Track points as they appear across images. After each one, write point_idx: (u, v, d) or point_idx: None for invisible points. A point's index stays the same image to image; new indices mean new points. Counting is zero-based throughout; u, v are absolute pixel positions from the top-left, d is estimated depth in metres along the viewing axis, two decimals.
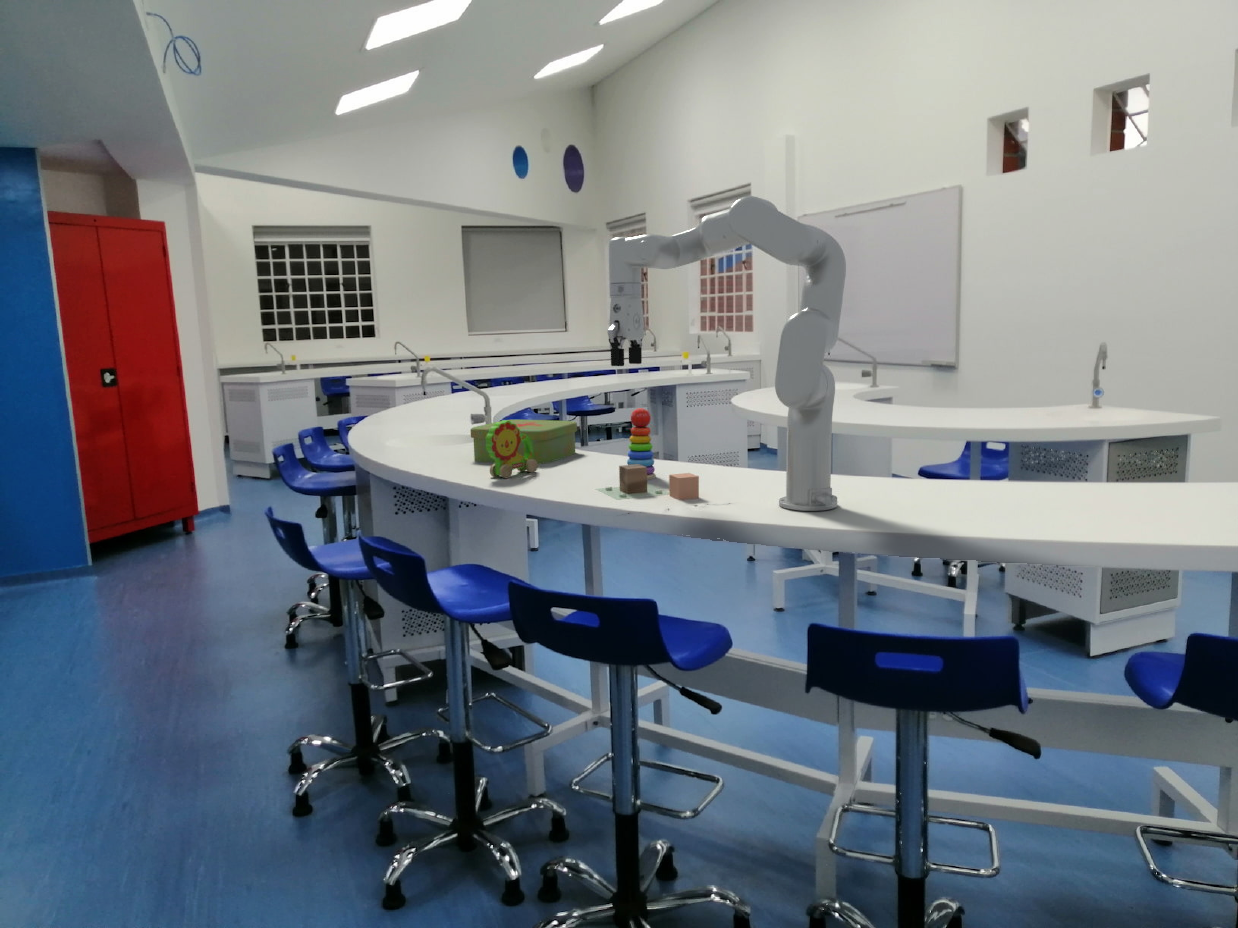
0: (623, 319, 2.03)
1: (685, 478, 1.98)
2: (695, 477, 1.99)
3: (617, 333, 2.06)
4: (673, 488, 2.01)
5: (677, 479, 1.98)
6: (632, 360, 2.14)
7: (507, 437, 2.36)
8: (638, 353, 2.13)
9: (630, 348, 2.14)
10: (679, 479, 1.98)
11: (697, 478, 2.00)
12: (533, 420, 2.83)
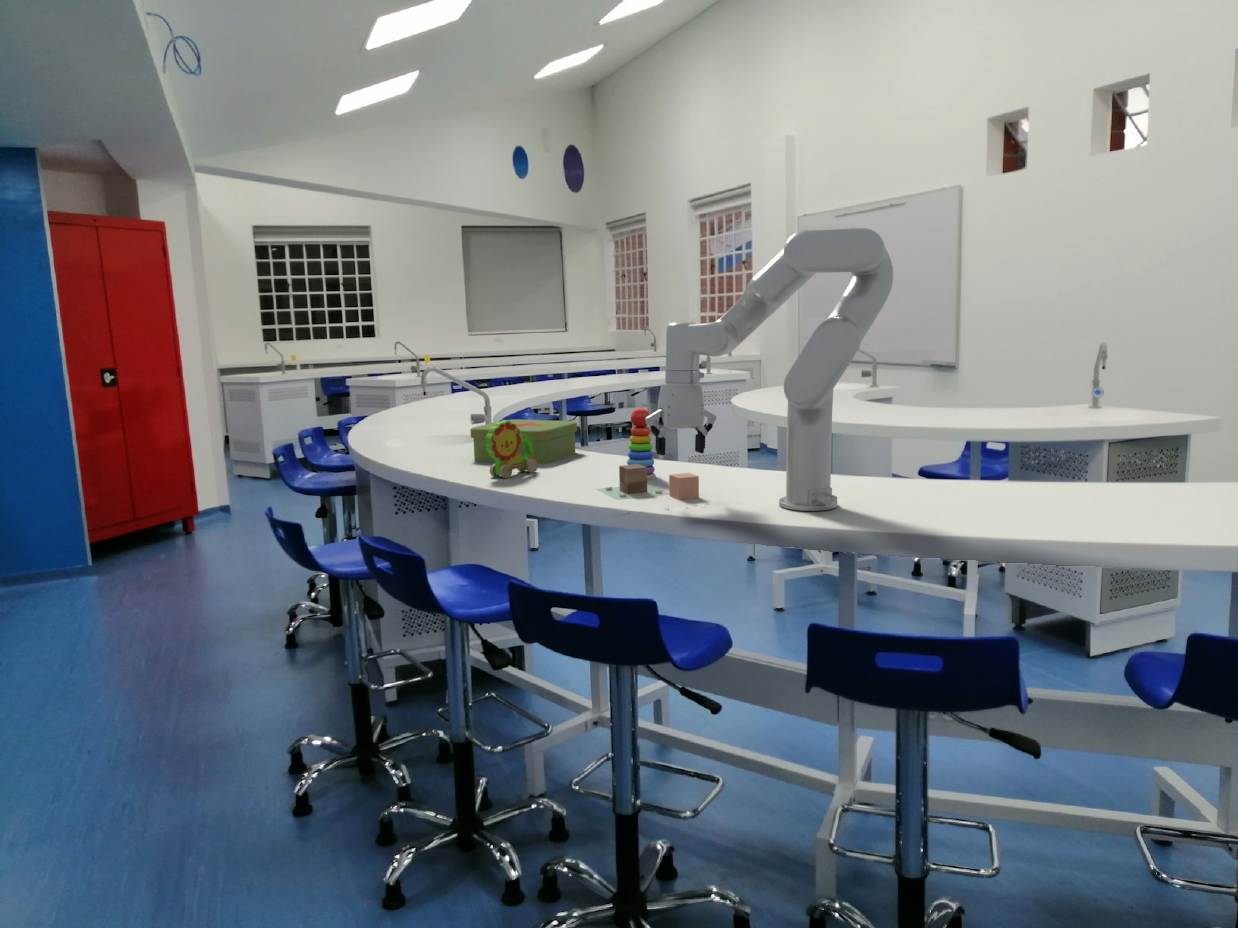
0: None
1: (685, 478, 1.98)
2: (695, 477, 1.99)
3: None
4: (673, 488, 2.01)
5: (677, 479, 1.98)
6: None
7: (507, 437, 2.36)
8: None
9: None
10: (679, 479, 1.98)
11: (697, 478, 2.00)
12: (533, 420, 2.83)
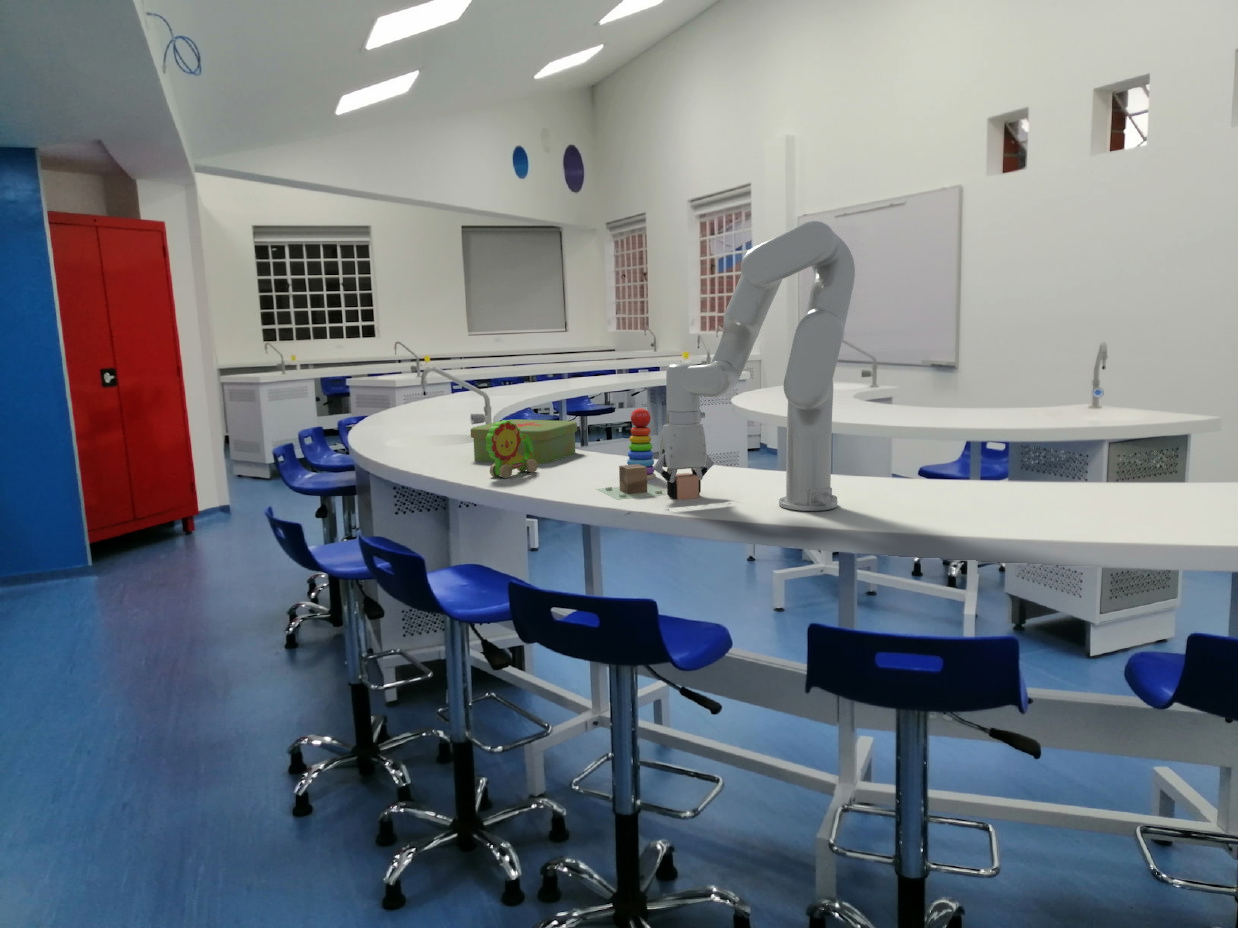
0: None
1: (685, 478, 1.98)
2: (695, 477, 1.99)
3: None
4: None
5: (677, 479, 1.98)
6: None
7: (507, 437, 2.36)
8: None
9: None
10: (679, 479, 1.98)
11: (697, 478, 2.00)
12: (533, 420, 2.83)
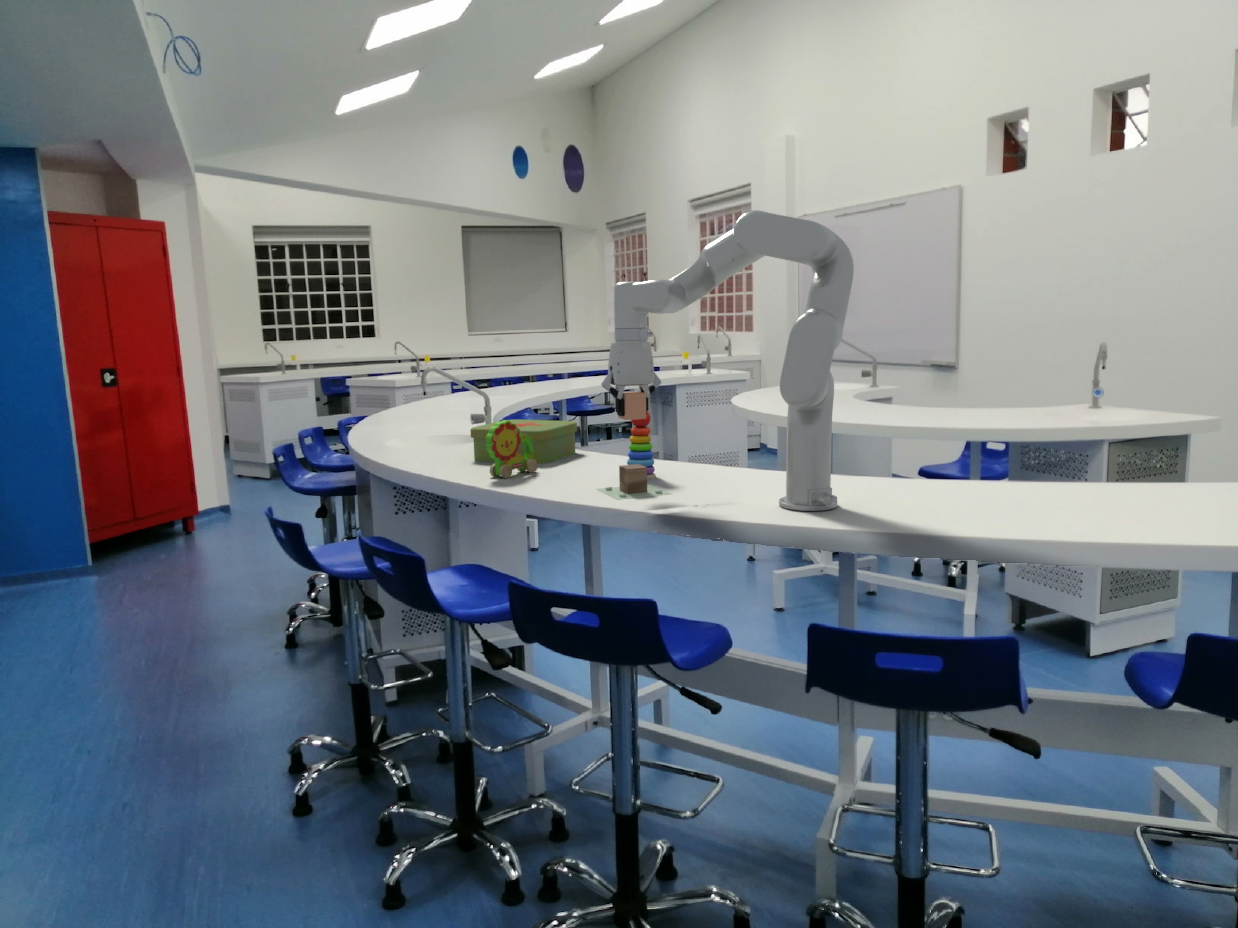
0: None
1: (632, 394, 2.03)
2: (642, 394, 2.04)
3: None
4: None
5: (624, 395, 2.03)
6: None
7: (507, 437, 2.36)
8: None
9: None
10: (626, 395, 2.02)
11: (644, 395, 2.04)
12: (533, 420, 2.83)
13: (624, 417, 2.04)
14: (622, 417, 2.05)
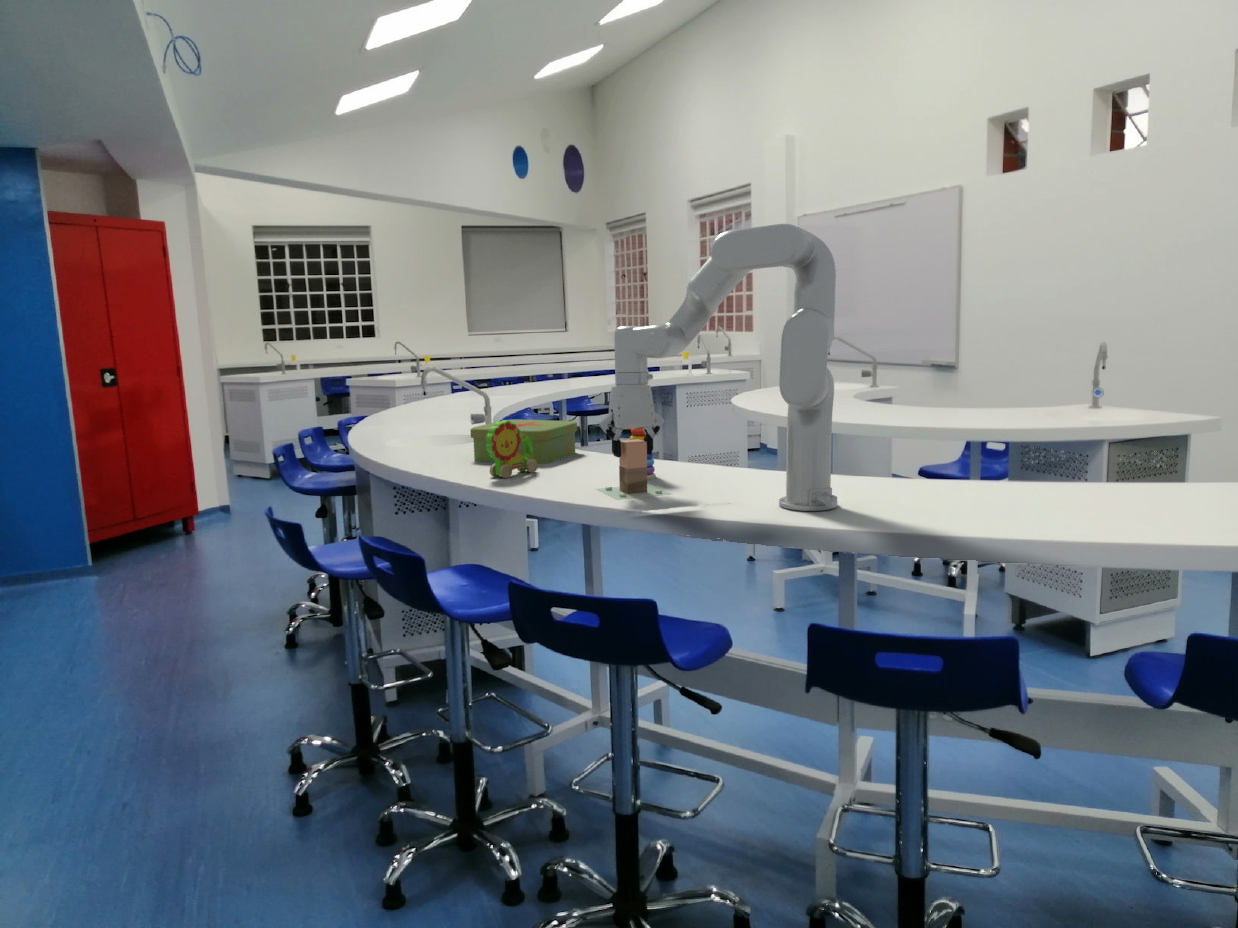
0: None
1: (633, 443, 2.05)
2: (643, 442, 2.05)
3: None
4: (622, 453, 2.07)
5: (625, 444, 2.04)
6: None
7: (507, 437, 2.36)
8: None
9: None
10: (627, 444, 2.04)
11: (645, 443, 2.06)
12: (533, 420, 2.83)
13: (625, 466, 2.06)
14: (623, 465, 2.07)
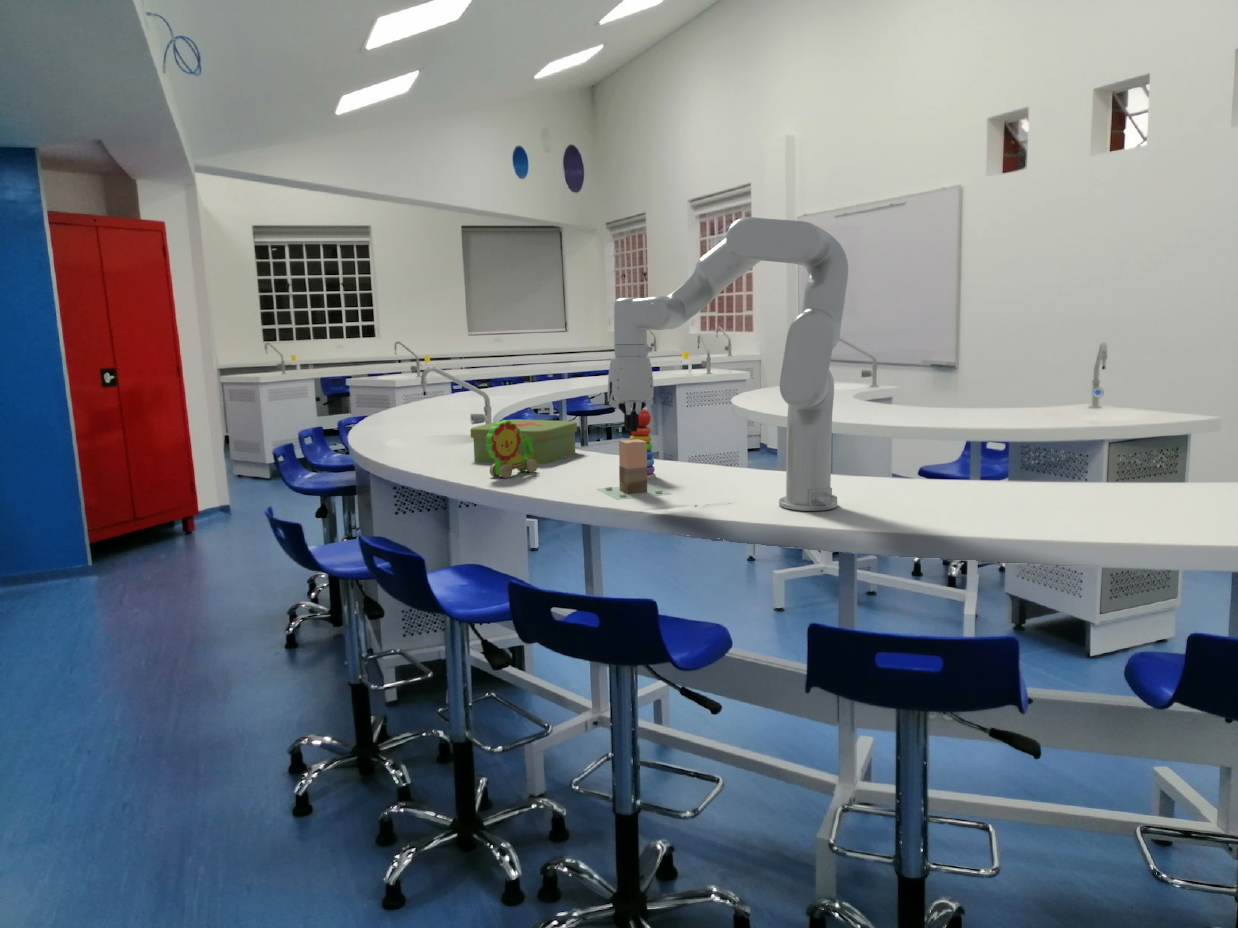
0: None
1: (633, 443, 2.05)
2: (643, 442, 2.05)
3: None
4: (622, 453, 2.07)
5: (625, 444, 2.04)
6: None
7: (507, 437, 2.36)
8: None
9: None
10: (627, 444, 2.04)
11: (645, 443, 2.06)
12: (533, 420, 2.83)
13: (625, 466, 2.06)
14: (623, 465, 2.07)
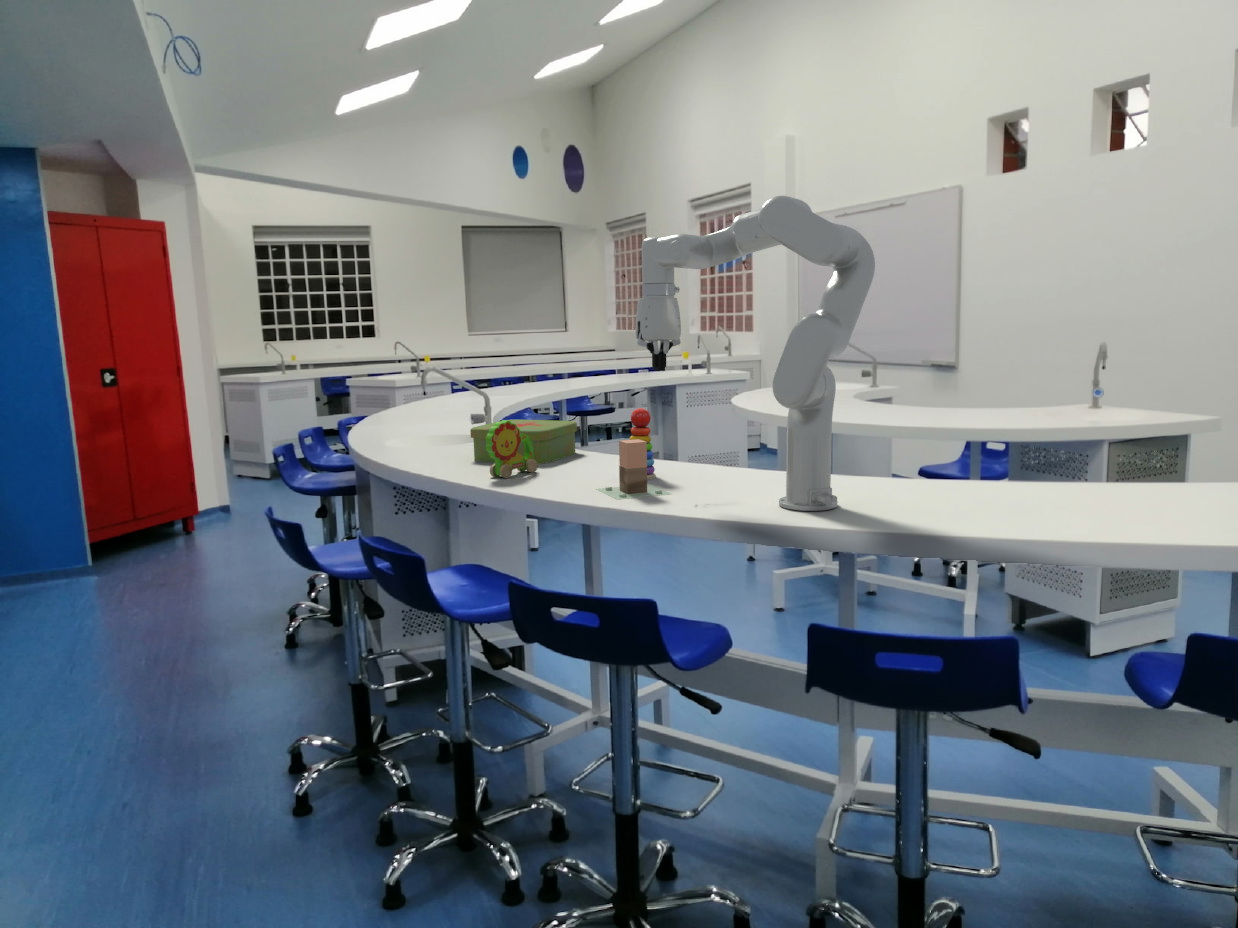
0: None
1: (633, 443, 2.05)
2: (643, 442, 2.05)
3: None
4: (622, 453, 2.07)
5: (625, 444, 2.04)
6: None
7: (507, 437, 2.36)
8: None
9: None
10: (627, 444, 2.04)
11: (645, 443, 2.06)
12: (533, 420, 2.83)
13: (625, 466, 2.06)
14: (623, 465, 2.07)
